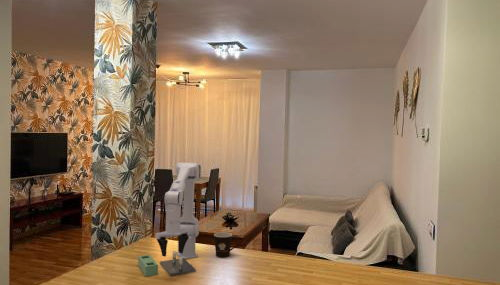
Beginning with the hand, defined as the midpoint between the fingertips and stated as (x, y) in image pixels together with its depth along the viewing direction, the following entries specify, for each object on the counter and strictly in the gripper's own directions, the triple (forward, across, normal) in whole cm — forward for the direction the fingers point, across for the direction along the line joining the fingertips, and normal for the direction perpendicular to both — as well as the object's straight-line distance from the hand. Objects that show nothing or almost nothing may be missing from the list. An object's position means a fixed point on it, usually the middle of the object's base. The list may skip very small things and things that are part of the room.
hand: (172, 254), depth 159 cm
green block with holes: (+9, -4, +13) cm, 16 cm away
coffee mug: (+8, +32, +7) cm, 34 cm away
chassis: (+9, +7, +8) cm, 14 cm away
